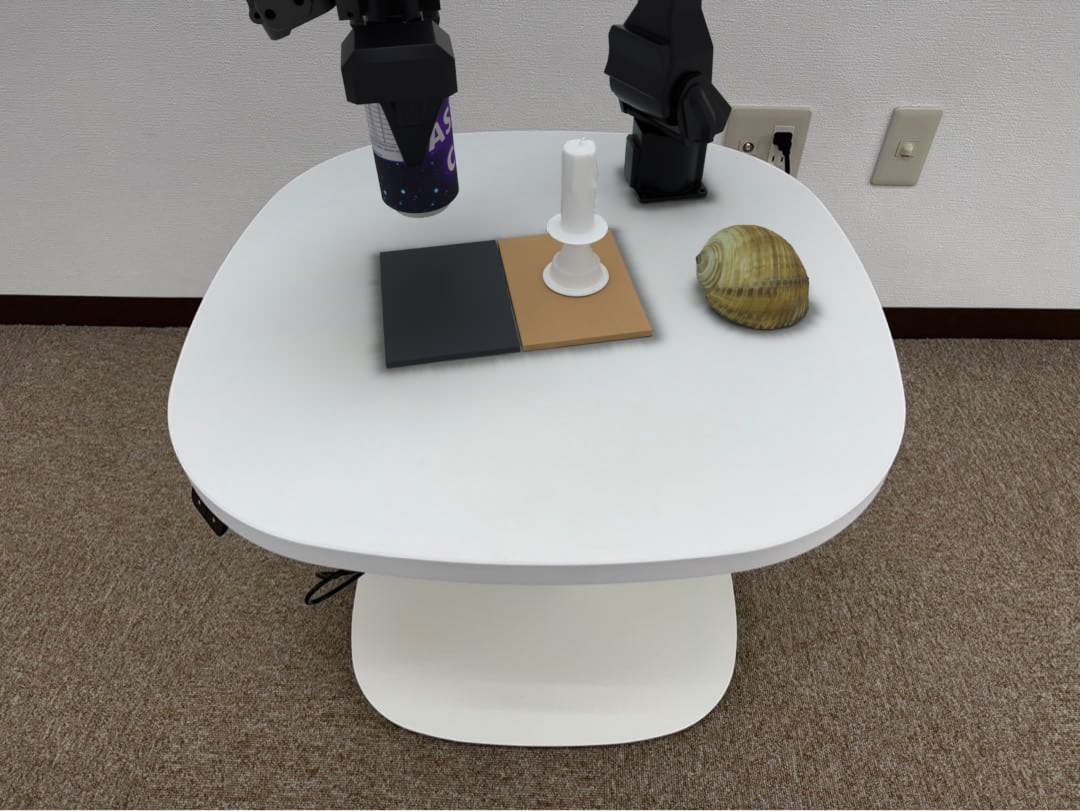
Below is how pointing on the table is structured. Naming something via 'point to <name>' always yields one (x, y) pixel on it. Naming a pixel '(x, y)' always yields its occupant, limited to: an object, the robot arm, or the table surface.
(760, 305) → the seashell
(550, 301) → the sorting mat
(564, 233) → the candle
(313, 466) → the table surface
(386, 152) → the beverage can
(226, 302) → the table surface
